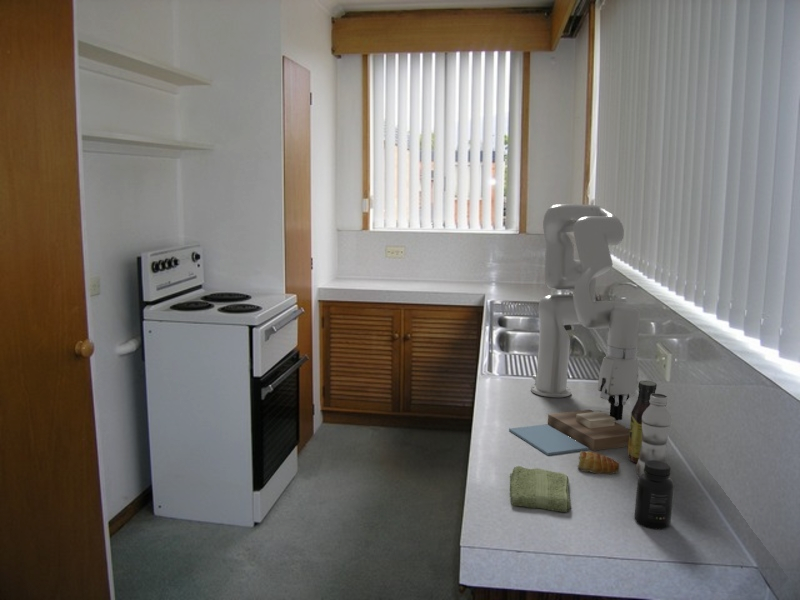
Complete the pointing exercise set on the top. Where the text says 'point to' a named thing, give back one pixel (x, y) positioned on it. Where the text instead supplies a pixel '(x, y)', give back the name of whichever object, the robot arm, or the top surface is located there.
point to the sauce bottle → (639, 418)
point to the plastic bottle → (654, 431)
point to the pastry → (597, 463)
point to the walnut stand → (590, 431)
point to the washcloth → (539, 489)
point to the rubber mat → (548, 439)
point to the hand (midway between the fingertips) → (615, 418)
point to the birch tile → (595, 419)
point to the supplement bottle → (654, 496)
